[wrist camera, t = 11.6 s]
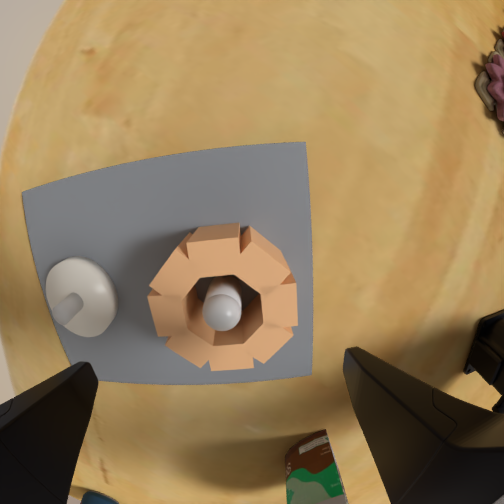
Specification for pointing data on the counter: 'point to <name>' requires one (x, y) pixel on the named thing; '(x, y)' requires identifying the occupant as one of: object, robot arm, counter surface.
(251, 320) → the orange gear
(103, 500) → the soda can
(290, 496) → the food container
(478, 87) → the gear puzzle
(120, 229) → the gear board
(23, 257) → the counter surface
